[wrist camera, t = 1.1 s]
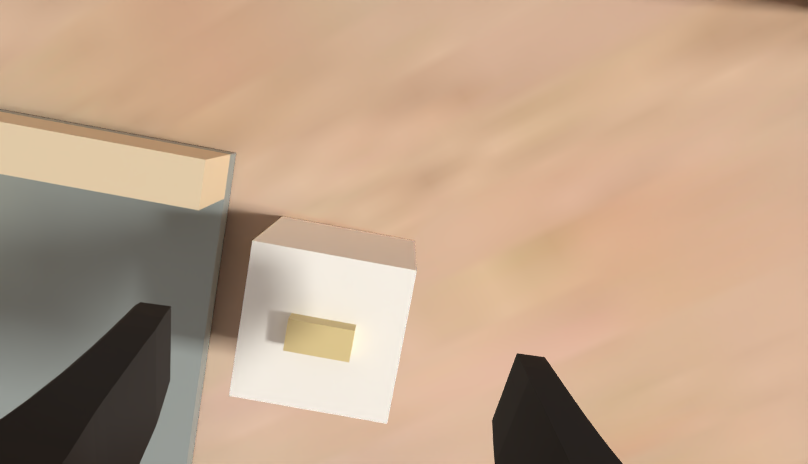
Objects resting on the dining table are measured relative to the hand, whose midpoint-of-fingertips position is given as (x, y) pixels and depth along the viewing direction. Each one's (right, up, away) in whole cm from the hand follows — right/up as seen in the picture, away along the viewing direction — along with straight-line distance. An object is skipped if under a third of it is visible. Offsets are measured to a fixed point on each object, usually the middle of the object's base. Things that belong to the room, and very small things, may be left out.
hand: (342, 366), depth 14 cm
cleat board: (-11, -1, +12) cm, 16 cm away
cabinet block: (-1, +1, +12) cm, 12 cm away
